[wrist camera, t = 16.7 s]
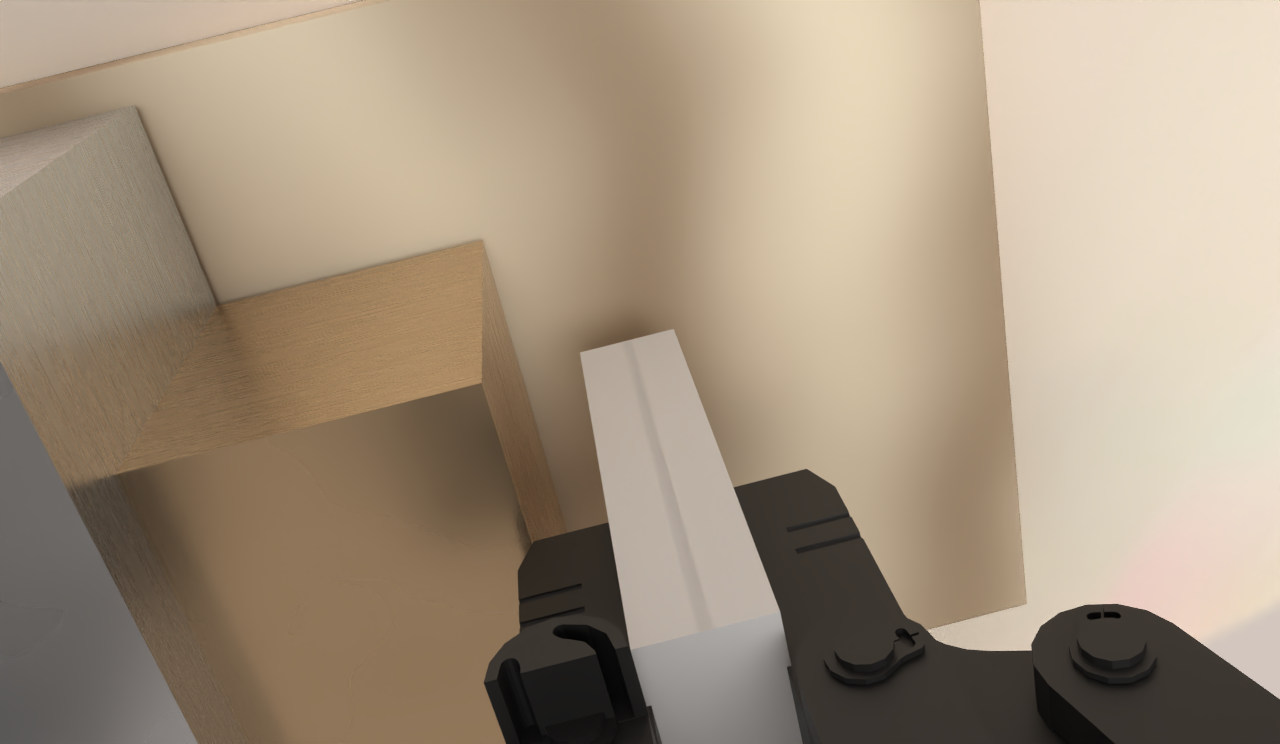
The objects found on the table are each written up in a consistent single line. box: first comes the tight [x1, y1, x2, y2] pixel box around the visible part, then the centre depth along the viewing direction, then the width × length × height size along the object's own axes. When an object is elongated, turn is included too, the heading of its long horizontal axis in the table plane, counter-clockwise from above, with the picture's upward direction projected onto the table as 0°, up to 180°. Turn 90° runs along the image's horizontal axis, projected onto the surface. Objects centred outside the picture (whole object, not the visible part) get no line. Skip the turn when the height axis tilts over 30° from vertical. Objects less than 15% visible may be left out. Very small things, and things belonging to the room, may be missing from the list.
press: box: [0, 0, 1027, 630], centre depth 16 cm, size 28×13×7 cm, turn 102°
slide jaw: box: [0, 105, 568, 744], centre depth 15 cm, size 6×12×6 cm, turn 13°
